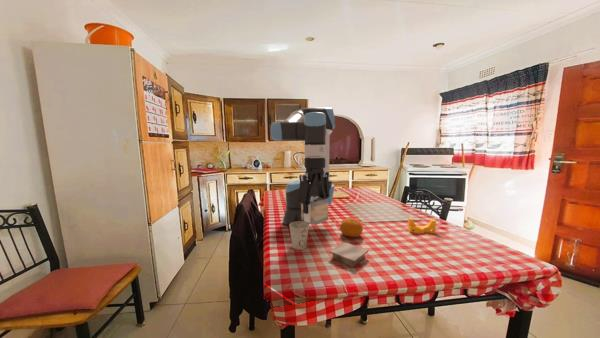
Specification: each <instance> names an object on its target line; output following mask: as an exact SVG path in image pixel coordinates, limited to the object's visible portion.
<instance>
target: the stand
mask: <svg viewBox="0 0 600 338" xmlns="http://www.w3.org/2000/svg"><path fill="white" fill-rule="evenodd" d="M368 252H369V249H366V248H364V247H362V246H361V247H360V246H357V245H354V244H351V243H349V242H345V241H343V242H341V243H339V244H337V246H335V247H334V248H332V249H330V250H329V251H328V253H329V254H332V259H333V260H335V261H338V262H341V263H344V264H346V265H349V266H350V267H355V266H356V265H358V264H359V262H361V261H362V260H363V259H365V256H366V254H367V253H368Z"/></svg>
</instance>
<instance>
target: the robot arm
mask: <svg viewBox="0 0 600 338" xmlns="http://www.w3.org/2000/svg"><path fill="white" fill-rule="evenodd" d="M335 121H336V120H335V113H334V108H333V107H331V106H330V107H328V106H327V107H326V106H324V107H322V106H321V107H303V108H300V109H299V108H298V109H297V110H295V111H292V112H291V113H290V114H289V115H288V117H287V118H285V119H284V120H283V121H275V122H271V124H270V128H269V130H270V137H271V139H272V140H273V141H276V142H277V141H279V142H283V141H287V142H288V141H290V142H291V141H295V142H297V141H299V142H300V141H301V142H303V141H304V145H303V146H304V150H303V151H304V153H303V154H304V156H305V158H303V159H304V160H303V161H304V163H303V164H304V165H303V167H304V168H305V173H304V174H299V176H298V177H299V178H298V180H296V181H291V182H288V183H287V184H286V186H285V211H284V216H283V218H282V223H283V225H285V226H288V227H290V226H289V225H290V223H292V222H296V221H302V220H301V203H302V204H303V213H304V221H303V222H307V223H308V224H311V204H309V203H310V199H311V196H318V197H322V198H327V199H328V206H330V205H332V203H333V198H334V191H335V184H333V180H332V179H331V178H330V144H331V143H330V142H331V141H330V136H331V134H332V133H333V130H334V129H335V128H336V124H335V123H336V122H335ZM306 200H307V201H306Z"/></svg>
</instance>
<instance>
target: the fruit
mask: <svg viewBox="0 0 600 338" xmlns="http://www.w3.org/2000/svg"><path fill="white" fill-rule="evenodd" d="M339 226H340V227H339V229H340V232H341V233H342V234H343V235H344V236H346V237H349V238H357V237H359V236H361V235H362V233H363V229H364V228H363V224H362V223H361V221H360V220H358V219H356V218H351V217H349V218H345V219H344V220H343V221H342V222H341V223H340V225H339Z"/></svg>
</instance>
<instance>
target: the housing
mask: <svg viewBox="0 0 600 338" xmlns="http://www.w3.org/2000/svg"><path fill="white" fill-rule="evenodd" d="M306 201H307V200H306ZM309 204H311V223H310V224H311V225H315V226H316V225H319V224H321V223H324V222H327V221H329V205H328V199H327V198H322V197H318V196H311V199H310V203H309ZM301 220H302V221H304V213H303V204H302V203H301Z"/></svg>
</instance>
